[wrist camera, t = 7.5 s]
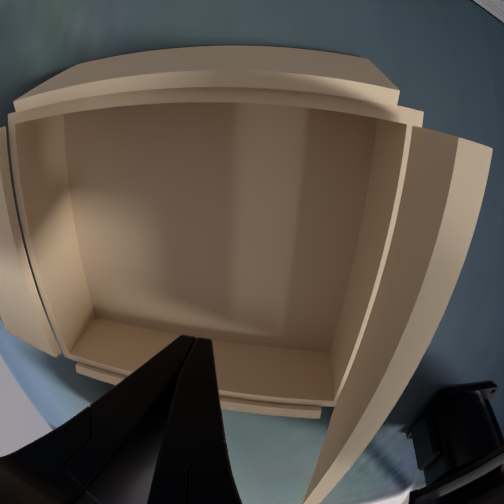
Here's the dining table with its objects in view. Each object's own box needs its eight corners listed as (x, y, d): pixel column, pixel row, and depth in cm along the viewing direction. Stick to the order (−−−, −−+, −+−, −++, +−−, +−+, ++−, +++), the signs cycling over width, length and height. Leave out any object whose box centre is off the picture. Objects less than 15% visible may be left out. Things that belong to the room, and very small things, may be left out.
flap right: (332, 411, 13) (301, 505, 8) (412, 125, 7) (458, 137, 3) (343, 413, 12) (314, 508, 8) (429, 129, 7) (493, 148, 3)
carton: (389, 64, 10) (434, 48, 6) (328, 373, 18) (331, 434, 14) (64, 67, 11) (0, 69, 7) (102, 338, 19) (71, 385, 15)
